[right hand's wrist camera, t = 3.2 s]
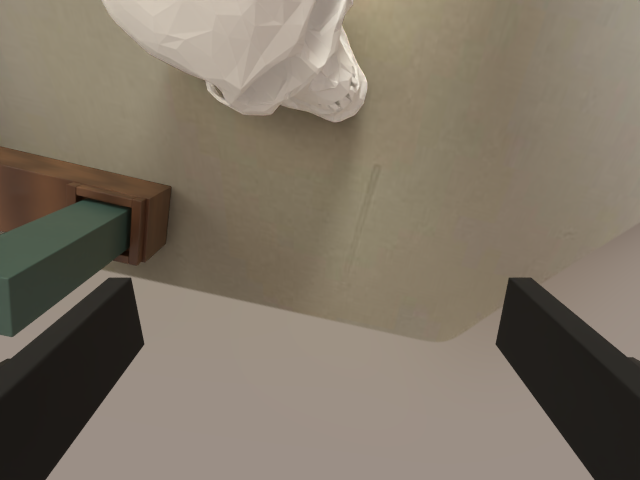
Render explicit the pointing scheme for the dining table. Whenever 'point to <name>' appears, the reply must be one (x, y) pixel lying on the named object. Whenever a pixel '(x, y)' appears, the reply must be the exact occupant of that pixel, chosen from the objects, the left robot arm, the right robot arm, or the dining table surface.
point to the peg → (57, 258)
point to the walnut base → (81, 197)
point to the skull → (254, 50)
